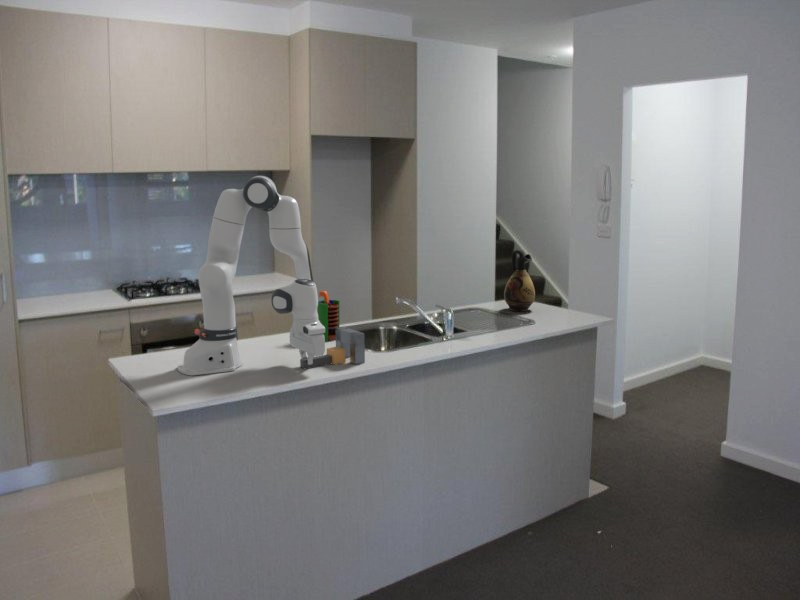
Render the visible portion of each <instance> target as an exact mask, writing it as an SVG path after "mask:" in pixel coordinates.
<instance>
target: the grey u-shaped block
mask: <svg viewBox="0 0 800 600" xmlns="http://www.w3.org/2000/svg"><path fill="white" fill-rule="evenodd" d="M335 347H341V348H343V349H345V358H346V359H348V358H349V363H351V364H353V365H359V364H365V363H366V362H365V361H366V357H365V355H366V352H365V351H366V349H365V347H366V345H365V333H364V332H362V331H358V330H356V329H352V328H349V327H347V326H341V327H340V326H339V328H336V340H335Z"/></svg>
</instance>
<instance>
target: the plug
mask: <svg viewBox="0 0 800 600" xmlns="http://www.w3.org/2000/svg"><path fill="white" fill-rule="evenodd" d="M306 359H308V357H307V358H305V359H301V358H300V361H299V362H300V363H299V364H300V368H301V367H302V368H301V369H303V368H306V369H309V368H308V367H312V368H314V367H313V366H317V367H320V366H319V365H323V366H326V365H325V364H329V365H333V364H335V365H337V364H336V363H340V364H345V363H344V362H346V361H347V360H346V359H347V358H345V349H343V348H341V347H336V346H334V347H328V348H326V354H323V355H320V356H314V358H313V364H310V365H309V364H307V363H306V362H307V361H306ZM331 363H332V364H331Z"/></svg>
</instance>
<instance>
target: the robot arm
mask: <svg viewBox="0 0 800 600" xmlns="http://www.w3.org/2000/svg"><path fill="white" fill-rule="evenodd" d="M251 209H256V210H259V211H263V212H266V213H267V216H268V222H269V224H268V225H269V240H270V244H271V245H272V246H273V248H274V249H275V250H277V251H278V252H279V253H281V254H285V255H287V256H289V257H290V258H291V259H292V261H293V264H294V270H295V276H296V279H295V280H294V281H293V282H291V283H290V284H288V285H286V286H283V287H279V288H277V289H275V290H274V291H273V293H272V295H271V297H270V298H271V300H270V301H271V306H272V308H273V310H274V311H275V312H276V313H278V314H280V315H288V314H292V316H293V317H292V319H293V320H292V321H293V322H292V323H291V327H290V329H289V344H290V347H293V348H295V349H297V350H299V355H300V359H305V358H308V359H306V361H307V362H306V363H307V364H309V365H310V364H313V358H314V357H317V356H322V355H325V351H326V341H325V337H324V334H323V333H325V327H324V326H323V325H322V324H321V323H320V321H319V320H318V313H317V307H318V301H319V293H318V288H317V285H316V282H314V279H313V272H312V264H311V258H310V257H311V256H310V252H309V248H308V245H307V244H306V242H305V241H304V239H303V234H302V224H301V223H302V221H301V213H300V208H299V204H298V201H297V200H296V198H294V197H292V196H290V195H282V194H279V193H278V189H277V184H276V183H275V182H274V181H273V179H271V178H270V177H268V176H266V175H255V176H253V177H251V178H249V179H248V180H247V181H246V182H245V184H244V186H243V188H242V189H238V188H227V189H224V190H223V191H222V192H221V193H220V196H219V198H218V200H217V203H216V205H215V208H214V212H213V216H212V222H211V226H210V229H209V236H208V243H207V245H208V246H207V254H206V258H205V259H206V260H205V261H204V263H203V265H202V266H201V267H200V268H199V269H198V270H199V271H198V278H197V279H198V283H199V285H198V286H199V290H200V291H199V293H200V295H201V296H200V298H201V302H202V308H203V309H202V310H203V313H202V314H203V328H202V329H199V328H196V329H194V334H195V335H197V336H199V339H198V340H197V341H195V343H193V344H192V345H191V346H190V347H189V348H187V349H186V350H185V352H184V355H183V363H180V364H178V365H177V368H176V369H177V371H178V372H180V373H181V374H183V375H186V376H198V375H208V374H216V373H217V374H219V373H226V372H233V371H235V370H236V369H237V368H239V367H241V366H242V365H243V362H242V359H241V356H240V351H239V346H238V339H239V337H238V336H239V333H238V326H237V324H236V304H235V300H234V294H233V286H232V285H233V281H234V279H235V278H236V273H237V269H238V268H237V267H238V263H239V256H240V249H241V244H242V239H243V235H244V231H245V230H244V229H245V225H246V220H247V218H248V217H247V216H248V213H249V211H250V210H251Z"/></svg>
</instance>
